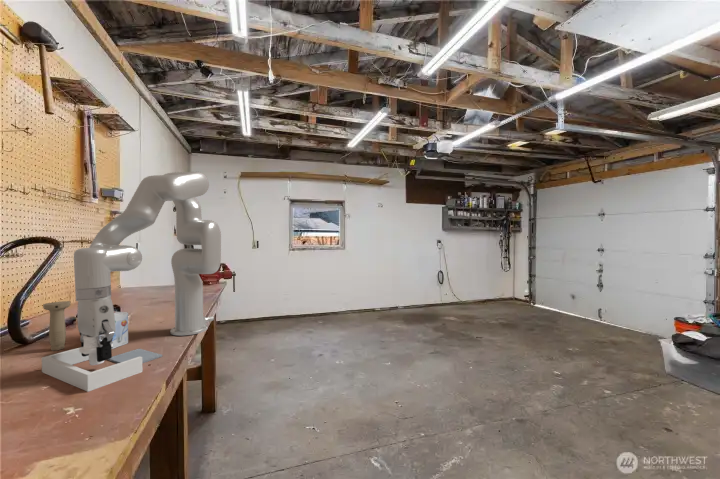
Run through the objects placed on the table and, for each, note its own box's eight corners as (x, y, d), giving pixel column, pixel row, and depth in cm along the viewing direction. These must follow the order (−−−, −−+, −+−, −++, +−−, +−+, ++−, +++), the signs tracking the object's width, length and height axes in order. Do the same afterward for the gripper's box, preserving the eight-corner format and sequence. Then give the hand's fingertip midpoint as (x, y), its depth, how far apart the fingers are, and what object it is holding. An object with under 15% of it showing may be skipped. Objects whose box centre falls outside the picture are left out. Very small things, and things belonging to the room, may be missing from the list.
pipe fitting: (112, 364, 88) (110, 335, 88) (77, 370, 85) (76, 340, 84) (114, 356, 94) (113, 328, 93) (82, 361, 90) (80, 333, 90)
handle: (70, 349, 105) (70, 303, 105) (43, 353, 101) (42, 305, 101) (71, 345, 109) (70, 300, 109) (44, 349, 105) (43, 303, 104)
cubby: (95, 356, 99) (95, 343, 99) (142, 371, 88) (142, 357, 88) (41, 372, 88) (41, 357, 88) (87, 391, 77) (87, 375, 77)
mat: (139, 349, 104) (139, 348, 104) (162, 356, 99) (162, 354, 99) (107, 359, 96) (107, 358, 96) (130, 367, 91) (130, 365, 91)
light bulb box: (98, 354, 101) (98, 319, 101) (81, 352, 102) (80, 318, 102) (129, 343, 111) (129, 311, 111) (113, 341, 113) (112, 310, 112)
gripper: (127, 293, 88) (129, 358, 89) (93, 288, 95) (95, 347, 96) (94, 299, 81) (97, 369, 82) (60, 292, 89) (64, 356, 90)
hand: (96, 356), depth 89 cm, fingers closed on pipe fitting, 7 cm apart
